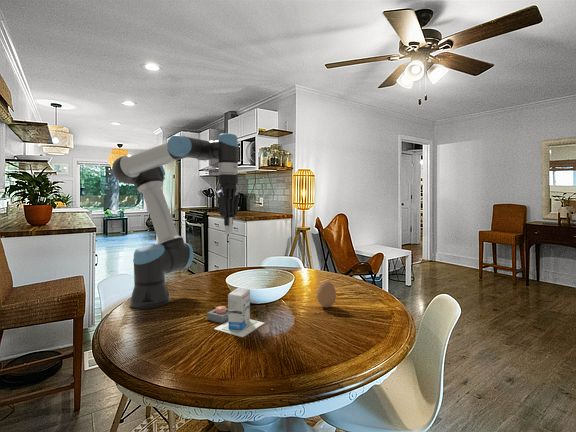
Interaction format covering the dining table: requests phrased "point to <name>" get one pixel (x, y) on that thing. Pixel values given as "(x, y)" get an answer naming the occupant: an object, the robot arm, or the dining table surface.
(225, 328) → the sheet
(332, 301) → the egg
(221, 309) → the button
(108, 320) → the dining table surface
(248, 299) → the ink box
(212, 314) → the button housing
